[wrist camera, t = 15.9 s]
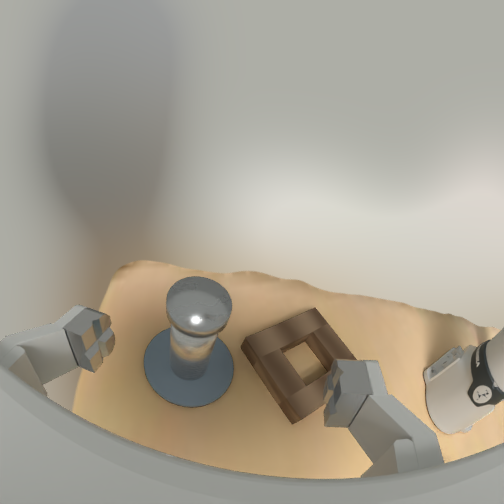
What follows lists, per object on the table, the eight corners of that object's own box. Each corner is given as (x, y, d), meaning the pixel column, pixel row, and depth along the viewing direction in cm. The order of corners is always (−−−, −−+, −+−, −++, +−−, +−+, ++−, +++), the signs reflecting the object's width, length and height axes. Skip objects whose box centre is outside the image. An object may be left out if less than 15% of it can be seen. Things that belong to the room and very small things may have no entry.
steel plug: (198, 338, 36) (214, 270, 27) (218, 374, 33) (244, 317, 24) (159, 351, 33) (157, 284, 24) (177, 390, 30) (182, 338, 21)
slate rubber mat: (208, 318, 40) (208, 315, 40) (248, 386, 34) (249, 384, 33) (132, 341, 34) (131, 338, 33) (166, 420, 27) (166, 418, 27)
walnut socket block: (307, 317, 45) (315, 307, 43) (355, 379, 38) (365, 371, 36) (240, 347, 38) (245, 337, 36) (292, 424, 31) (301, 419, 29)
